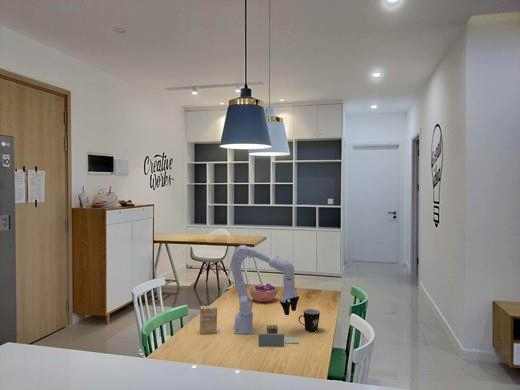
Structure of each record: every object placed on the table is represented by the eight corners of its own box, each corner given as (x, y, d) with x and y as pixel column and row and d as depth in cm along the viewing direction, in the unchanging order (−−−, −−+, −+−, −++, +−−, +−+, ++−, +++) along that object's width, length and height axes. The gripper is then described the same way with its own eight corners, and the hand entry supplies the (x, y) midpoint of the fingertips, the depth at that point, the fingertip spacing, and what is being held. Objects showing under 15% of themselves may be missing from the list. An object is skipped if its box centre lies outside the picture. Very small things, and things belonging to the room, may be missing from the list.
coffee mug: (317, 327, 211) (318, 309, 211) (321, 333, 202) (321, 314, 202) (296, 327, 210) (296, 308, 210) (298, 333, 202) (298, 313, 202)
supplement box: (200, 334, 197) (201, 308, 197) (199, 331, 202) (200, 305, 202) (216, 333, 199) (217, 307, 199) (215, 330, 204) (216, 305, 204)
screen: (258, 346, 184) (258, 334, 184) (258, 345, 185) (258, 333, 185) (284, 346, 184) (284, 334, 184) (283, 345, 185) (284, 333, 185)
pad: (284, 343, 187) (284, 342, 187) (283, 338, 194) (283, 337, 194) (299, 344, 188) (299, 342, 188) (297, 338, 195) (297, 337, 195)
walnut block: (267, 340, 191) (267, 328, 191) (266, 337, 196) (266, 324, 196) (277, 340, 191) (277, 328, 191) (276, 337, 196) (276, 324, 196)
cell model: (244, 299, 264) (244, 282, 264) (271, 296, 272) (271, 280, 272) (254, 306, 249) (255, 288, 249) (282, 303, 257) (283, 285, 257)
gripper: (289, 290, 194) (290, 317, 194) (302, 283, 206) (303, 309, 207) (277, 289, 198) (278, 316, 198) (290, 282, 210) (291, 308, 210)
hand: (290, 312), depth 202 cm, fingers open, 7 cm apart
